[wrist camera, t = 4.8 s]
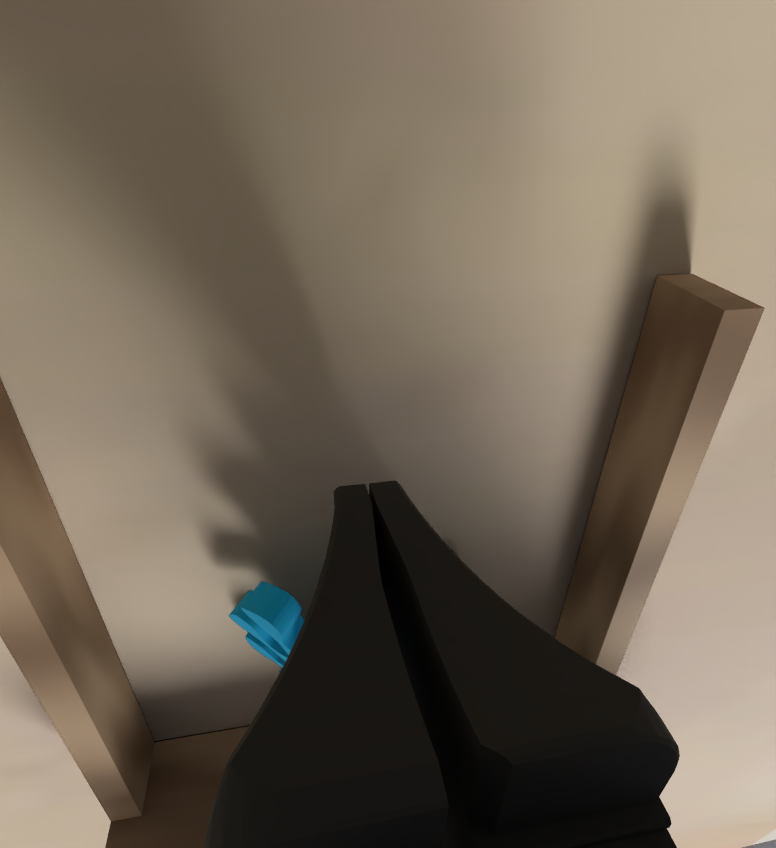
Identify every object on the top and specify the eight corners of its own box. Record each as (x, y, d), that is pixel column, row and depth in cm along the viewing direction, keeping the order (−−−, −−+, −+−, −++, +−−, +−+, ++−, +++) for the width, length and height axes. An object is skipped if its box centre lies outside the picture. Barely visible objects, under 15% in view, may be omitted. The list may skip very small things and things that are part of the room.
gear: (155, 576, 14) (523, 812, 9) (296, 424, 17) (628, 532, 12) (295, 719, 21) (539, 892, 16) (375, 595, 25) (601, 707, 19)
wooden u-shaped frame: (558, 692, 24) (617, 818, 20) (136, 766, 22) (104, 930, 17) (692, 273, 14) (868, 356, 10) (-83, 311, 11) (-288, 448, 7)
